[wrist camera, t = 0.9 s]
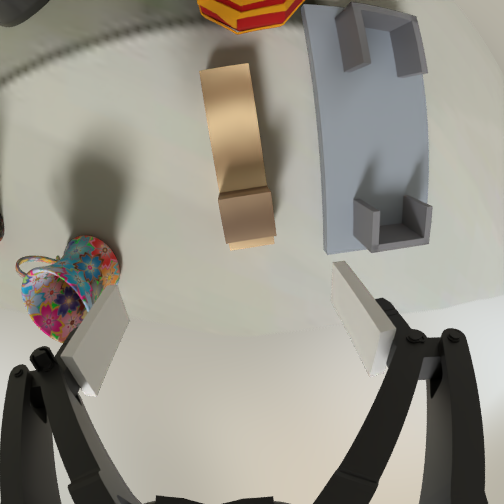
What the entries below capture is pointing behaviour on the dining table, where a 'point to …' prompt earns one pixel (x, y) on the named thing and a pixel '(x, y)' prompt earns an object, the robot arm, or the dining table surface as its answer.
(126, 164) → the dining table surface
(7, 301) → the dining table surface
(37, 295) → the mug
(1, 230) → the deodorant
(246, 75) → the tan stepped wooden block
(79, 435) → the robot arm
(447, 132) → the dining table surface
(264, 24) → the potion bottle
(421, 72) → the grey slat holder base
